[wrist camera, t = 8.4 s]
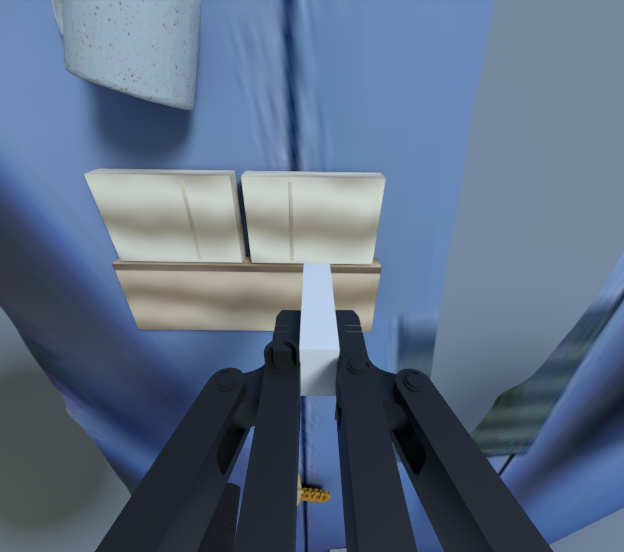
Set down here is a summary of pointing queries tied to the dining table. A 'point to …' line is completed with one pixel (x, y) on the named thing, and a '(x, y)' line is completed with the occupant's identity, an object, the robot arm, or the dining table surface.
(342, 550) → the coffee box
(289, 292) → the laid board
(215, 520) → the drinking cup
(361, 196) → the plank
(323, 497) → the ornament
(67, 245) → the dining table surface
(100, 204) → the plank
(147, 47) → the ceramic mug
